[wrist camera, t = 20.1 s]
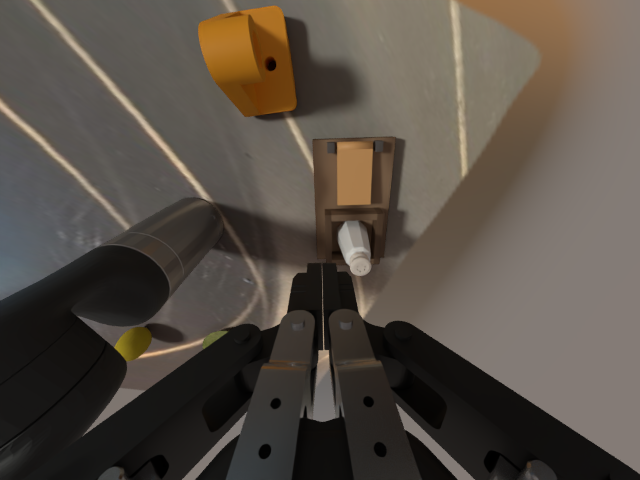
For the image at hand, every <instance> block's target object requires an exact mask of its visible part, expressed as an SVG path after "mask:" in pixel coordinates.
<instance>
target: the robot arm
mask: <svg viewBox="0 0 640 480" xmlns="http://www.w3.org/2000/svg"><path fill="white" fill-rule="evenodd" d="M223 228H224V226H223V221H222V218H221V216H220V214H219V212H218V211H217V210H216V209H215V208H214V207H213V206H212V205H211V204H209V203H208V202H206V201H204V200H201V199H198V198H185V199H181V200H180V201H178V202H176V203H174V204H172V205H171V206H169V207H166V208H164V209H163V210H161V211H159V212H157V213H155V214H154V215H152V216H150V217H148V218H147V219H145V220H143V221H141V222H140V223H138V224H136V225H134V226H132V227H131V228H129V229H128V230H126V231H124V232H123V233H121V234H119V235H117V236H116V237H114V238H112V239H111V240H109V241H107V242H105V243H104V244H102V245H100V246H98V247H97V248H95V249H93V250H91V251H90V252H88V253H86V254H85V255H83V256H81V257H80V258H78V259H76V260H75V261H73V262H71V263H70V264H68V265H66V266H65V267H63V268H61V269H59V270H58V271H56V272H54V273H52V274H51V275H49V276H47V277H45V278H44V279H42V280H40V281H38V282H36V283H34V284H32V285H30V286H28V287H26V288H24V289H22V290H20V291H19V292H17V293H15V294H13V295H11V296H9V297H7V298H5V299H3V300H1V301H0V480H182V479H183V478H184V477H185V476H186V475H187V473H188V472H189V471H190V470H191V469H192V468H193V467H194V466H195V465H196V464H197V463H198V462H199V461H200V460H201V459H202V458H203V457H204V456H205V455H206V454H207V452H209V451H210V450H211V448H212V447H213V446H214V445H215V444H216V443H217V442H218V441H219V440H220V439H221V438H222V437H223V436H224V435H225V434H226V433H227V432H228V431H229V430H230V429H231V428H232V427H233V425H234V424H235V423H236V422H237V421H238V420H239V419H240V418H241V417H242V416H243V415H244V414H245V413H246V412H247V414H246V417H245V420H244V423H243V427H242V430H241V433H240V434H239V435H238V436H237V437H235V438H234V439H233V440H231V441H230V442H229V443H228V444H227V445H226V446H225V447H224V448H223V449H222V450H221V451H220V452H219V453H218V454H217V455H216V457H215V458H214V459H213V460H212V461H211V462H210V463H209V465H208V466H207V467H206V468H205V469H204V470H203V472H202V473H201V474H200V475H199V476H198V477H197V478H196V480H457V478H456V477H455V476H454V475H453V474H452V473H451V472H450V471H449V470H448V469H447V468H446V467H445V466H444V465H443V464H442V463H441V461H440V460H439V459H437V457H436V456H435V455H434V454H433V453H432V452H431V451H430V450H429V449H428V448H427V447H426V446H425V445H424V444H423V443H422V442H421V441H420V440H419V439H418V438H416V437H415V436H413V435H412V434H411V433H409V432H408V431H406V430H405V429H404V426H403V423H402V420H401V417H400V415H399V412H398V409H397V406H396V403H397V404H398V405H399V406H400V407H401V408H402V409H403V410H404V411H405V412H406V413H407V414H408V415H409V416H410V417H411V418H412V419H413V420H414V421H415V422H416V423H417V424H418V425H419V426H420V427H421V428H422V429H423V430H425V432H426V433H428V434H429V435H430V436H431V437H432V438H433V439H434V440H435V441H436V442H437V443H438V444H439V445H440V446H441V447H442V448H443V449H444V450H445V451H446V452H447V453H448V454H449V455H450V456H451V457H452V458H453V459H454V460H455V461H457V463H459V464H460V465H461V466H462V467H463V468H464V469H465V470H466V471H467V472H468V473H469V474H470V475H471V476H472V477H473V478H474V479H475V480H640V474H638V473H637V472H636V471H634V470H633V469H632V468H630V467H629V466H627V465H626V464H624V463H623V462H621V461H620V460H618V459H617V458H615V457H614V456H612V455H610V454H609V453H608V452H606V451H604V450H603V449H601V448H600V447H598V446H597V445H595V444H594V443H592V442H591V441H589V440H587V439H586V438H585V437H583V436H581V435H580V434H578V433H577V432H575V431H574V430H572V429H571V428H569V427H568V426H566V425H565V424H563V423H562V422H560V421H559V420H557V419H556V418H554V417H553V416H551V415H549V414H548V413H546V412H545V411H543V410H542V409H540V408H539V407H537V406H536V405H534V404H533V403H531V402H530V401H528V400H527V399H525V398H524V397H522V396H520V395H519V394H517V393H516V392H514V391H513V390H511V389H510V388H508V387H507V386H505V385H504V384H502V383H501V382H499V381H498V380H496V379H494V378H493V377H491V376H490V375H488V374H487V373H485V372H484V371H482V370H481V369H479V368H478V367H476V366H475V365H473V364H471V363H470V362H469V361H467V360H465V359H464V358H462V357H461V356H459V355H458V354H456V353H455V352H453V351H452V350H450V349H449V348H447V347H445V346H444V345H443V344H441V343H439V342H438V341H436V340H435V339H433V338H432V337H430V336H429V335H427V334H426V333H424V332H423V331H421V330H420V329H418V328H416V327H415V326H413V325H412V324H410V323H407V322H403V321H393V322H390V323H388V324H387V325H386V326H385V328H383V327H379V326H375V325H372V324H369V323H367V322H366V321H365V320H363V319H362V317H361V316H360V315H359V312H358V307H357V302H356V297H355V292H354V287H353V282H352V278H351V276H350V275H349V274H348V273H347V272H337V267H336V263H322V267H323V310H322V271H321V263H308V265H307V273H297V275H296V276H295V277H294V278H293V281H292V287H291V293H290V299H289V305H288V311H287V314H286V315H285V316H284V317H283V318H282V320H281V323H280V324H279V325H277V326H275V327H273V328H270V329H266V330H263V331H260V329H259V328H258V327H257V326H255V325H253V324H242V325H239V326H236V327H234V328H233V329H231V330H230V331H229V332H227V333H226V334H224V335H223V336H222V337H220V338H219V339H217V340H216V341H215V342H213V343H212V344H210V345H209V346H208V347H206V348H205V349H203V350H202V351H201V352H199V353H198V354H196V355H195V356H194V357H192V358H191V359H189V360H188V361H187V362H185V363H184V364H183V365H181V366H180V367H178V368H177V369H176V370H174V371H173V372H171V373H170V374H169V375H167V376H166V377H164V378H163V379H162V380H160V381H159V382H157V383H156V384H155V385H153V386H152V387H150V388H149V389H148V390H146V391H145V392H143V393H142V394H141V395H139V396H138V397H137V398H135V399H134V400H133V401H131V402H130V403H128V404H127V405H125V406H124V407H123V408H121V409H120V410H118V411H117V412H116V413H114V414H113V415H111V416H110V417H109V418H107V419H106V420H105V421H103V422H102V423H100V424H99V425H97V426H96V427H95V428H93V429H92V430H91V431H89V432H88V433H86V434H85V435H84V436H83V434H84V433H85V432H86V431H87V430H88V429H89V427H90V426H91V425H92V424H93V423H94V422H95V420H96V419H97V418H98V417H99V415H100V414H101V413H102V411H103V410H104V409H105V408H106V406H107V405H108V404H109V403H110V401H111V400H112V398H113V397H114V395H115V394H116V392H117V391H118V389H119V387H120V385H121V384H122V382H123V380H124V378H125V375H126V372H127V363H126V360H125V359H124V357H123V356H122V355H121V354H120V353H119V352H118V351H117V350H116V349H115V348H114V347H113V346H112V345H110V344H109V343H108V342H107V341H105V340H104V339H103V338H102V337H101V336H100V335H98V334H97V333H96V332H95V331H94V330H93V329H91V328H90V327H89V326H88V325H87V324H85V323H84V322H83V321H82V320H81V319H80V318H78V317H77V316H80V317H84V318H87V319H90V320H93V321H96V322H99V323H102V324H106V325H112V326H134V325H138V324H141V323H143V322H146V321H147V320H149V319H150V318H152V317H153V316H154V315H155V314H156V313H157V312H158V311H159V310H160V309H161V307H162V306H163V305H164V304H165V303H166V301H167V300H168V299H169V298H170V297H171V296H172V294H173V293H174V292H175V291H176V290H177V288H178V287H179V286H180V285H181V284H182V282H183V281H184V280H185V279H186V278H187V277H188V275H189V274H190V273H191V272H192V271H193V269H194V268H195V267H196V266H197V265H198V264H199V262H200V261H201V260H202V259H203V258H204V257H205V255H206V254H207V253H208V252H209V251H210V250H211V248H212V247H213V246H214V245H215V244H216V242H217V241H218V240H219V239H220V237H221V236H222V233H223ZM323 316H324V347H325V350H329V362H330V375H331V383H332V391H333V400H334V407H335V419H332V420H329V421H326V422H319V421H316V420H313V407H314V397H315V387H316V376H317V363H318V350H323Z"/></svg>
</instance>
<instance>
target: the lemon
mask: <svg viewBox="0 0 640 480" xmlns="http://www.w3.org/2000/svg"><path fill="white" fill-rule="evenodd" d="M151 340H152V335H151V332H150V331H149V330H148V328H144V327H135V328H132V329H130V330H129V331H127V332H126V333H124V334H123V335H122V336H121V338H120V339H119V340H118V342H117V344H116V346H115V349H116V350H117V351H118V352H119V353H120V354H121V355H122V356H123V357H124V359H125V360H126V361H132V360H134V359H136V358H138V357H139V356H140V355H142V354H143V353H144V352H145V351H146V350H147V348H148V347H149V345H150V343H151Z"/></svg>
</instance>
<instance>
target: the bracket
mask: <svg viewBox="0 0 640 480" xmlns="http://www.w3.org/2000/svg"><path fill="white" fill-rule="evenodd" d="M198 33H199V40H200V45H201V49H202V53H203V56H204V59H205V62H206V65H207V67H208V69H209V72H210V74H211V76H212V78H213V79H214V81H215V82H216V84H217V85H218V86H219V87H220V88H221V90H222V91H223V92H224V93H225V94H226V95H227V97H228V98H229V99H230V100H231V101H232V102H233V103H234V105H235V106H236V107H237V108H238V109H239V110H240V112H241V113H242V114H243V115H244V116H245V117H250V116H257V115H265V114H272V113H279V112H286V111H292V110H294V109H295V108H296V106H297V98H296V91H295V89H296V88H295V81H294V74H293V67H292V60H291V53H290V46H289V39H288V35H287V28H286V21H285V18H284V15H283V12H282V10H281V9H280V8H279V7H277V6H269V7H263V8H256V9H250V10H244V11H238V12H232V13H226V14H220V15H218V16H215V17H213V18H210V19H208V20H205V21H202V22H200V24H199V27H198ZM271 61H275V62H276V68H275V70H274V71H269V70H268V65H269V63H270V62H271Z"/></svg>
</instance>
